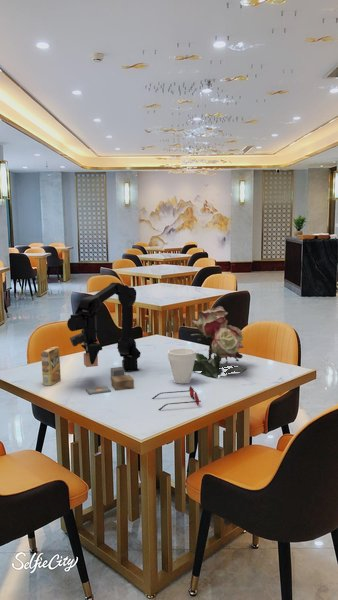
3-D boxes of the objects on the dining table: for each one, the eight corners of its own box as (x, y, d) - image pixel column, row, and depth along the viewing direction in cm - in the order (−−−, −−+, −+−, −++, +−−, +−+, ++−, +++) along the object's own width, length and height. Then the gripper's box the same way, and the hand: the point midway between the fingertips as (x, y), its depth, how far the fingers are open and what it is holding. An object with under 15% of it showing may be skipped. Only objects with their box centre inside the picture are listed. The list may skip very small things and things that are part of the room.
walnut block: (129, 383, 224) (129, 374, 223) (133, 388, 216) (133, 379, 216) (111, 385, 222) (111, 376, 221) (115, 390, 214) (114, 381, 214)
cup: (181, 376, 233) (181, 346, 231) (202, 381, 225) (201, 350, 223) (162, 381, 225) (161, 351, 223) (182, 387, 216) (182, 356, 214)
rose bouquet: (223, 381, 224) (223, 313, 220) (178, 368, 246) (177, 306, 242) (260, 370, 241) (261, 307, 237) (215, 359, 263) (215, 301, 259)
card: (107, 387, 218) (107, 385, 217) (110, 391, 212) (110, 389, 212) (86, 390, 214) (86, 388, 214) (89, 394, 209) (89, 392, 209)
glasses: (201, 408, 193) (201, 395, 192) (157, 411, 189) (157, 398, 189) (192, 396, 206) (192, 384, 205) (151, 399, 203) (151, 387, 202)
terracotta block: (95, 363, 226) (94, 352, 226) (97, 365, 222) (97, 354, 221) (83, 364, 224) (83, 353, 224) (86, 367, 220) (86, 355, 219)
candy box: (51, 386, 221) (49, 351, 219) (42, 385, 222) (40, 350, 220) (61, 380, 229) (59, 346, 227) (52, 379, 231) (51, 346, 228)
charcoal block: (121, 377, 233) (121, 366, 232) (124, 380, 228) (124, 369, 227) (110, 378, 231) (110, 368, 230) (113, 381, 226) (113, 370, 226)
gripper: (66, 325, 226) (68, 359, 229) (75, 332, 209) (76, 370, 211) (91, 323, 230) (92, 357, 233) (102, 330, 213) (103, 367, 215)
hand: (90, 362), depth 223 cm, fingers closed on terracotta block, 5 cm apart
